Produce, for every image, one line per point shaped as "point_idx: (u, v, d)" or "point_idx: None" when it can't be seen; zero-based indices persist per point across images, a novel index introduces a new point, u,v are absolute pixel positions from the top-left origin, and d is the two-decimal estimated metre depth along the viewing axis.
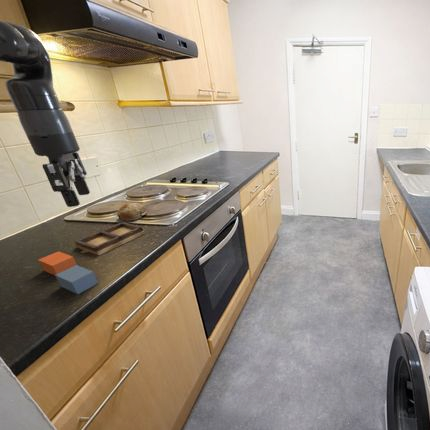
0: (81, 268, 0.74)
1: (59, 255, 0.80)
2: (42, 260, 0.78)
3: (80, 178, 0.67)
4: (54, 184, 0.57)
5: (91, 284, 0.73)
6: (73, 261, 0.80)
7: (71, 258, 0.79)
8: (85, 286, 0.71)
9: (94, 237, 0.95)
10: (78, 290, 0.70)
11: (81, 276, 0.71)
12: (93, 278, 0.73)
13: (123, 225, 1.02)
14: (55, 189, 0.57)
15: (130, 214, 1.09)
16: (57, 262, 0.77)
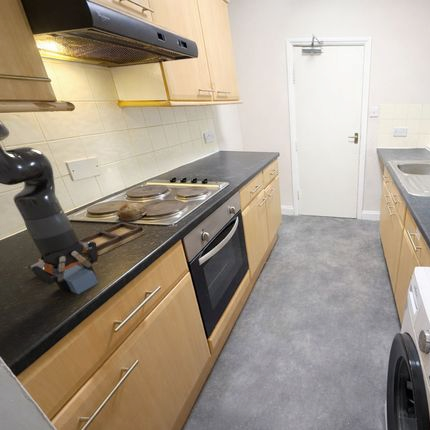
0: (81, 268, 0.74)
1: None
2: None
3: (85, 266, 0.74)
4: None
5: (91, 284, 0.73)
6: None
7: None
8: (85, 286, 0.71)
9: (94, 237, 0.95)
10: (78, 290, 0.70)
11: (81, 276, 0.71)
12: (93, 278, 0.73)
13: (123, 225, 1.02)
14: (44, 281, 0.67)
15: (130, 214, 1.09)
16: None
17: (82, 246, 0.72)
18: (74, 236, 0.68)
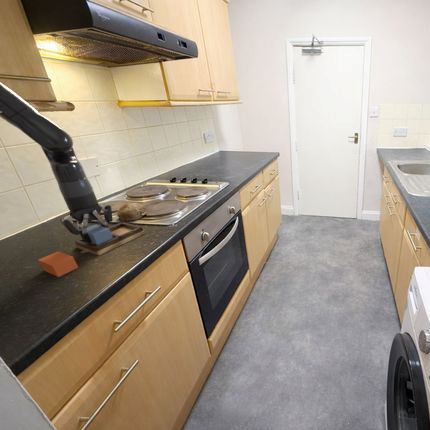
0: (99, 226, 0.92)
1: (59, 255, 0.80)
2: (42, 260, 0.78)
3: (102, 224, 0.92)
4: None
5: (108, 239, 0.91)
6: (73, 261, 0.80)
7: (71, 258, 0.79)
8: (103, 239, 0.90)
9: None
10: (98, 242, 0.88)
11: (100, 231, 0.89)
12: (109, 234, 0.91)
13: (123, 225, 1.02)
14: None
15: (130, 214, 1.09)
16: (57, 262, 0.77)
17: (100, 208, 0.90)
18: (95, 198, 0.87)
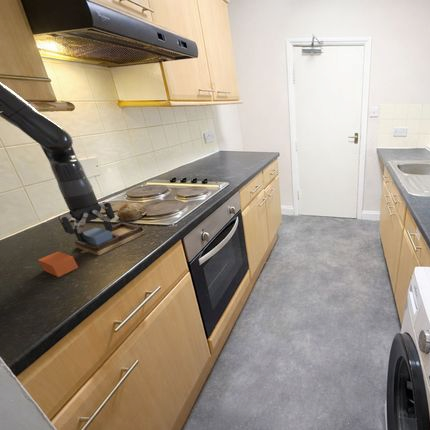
0: (100, 229, 0.92)
1: (59, 255, 0.80)
2: (42, 260, 0.78)
3: (105, 221, 0.92)
4: (66, 228, 0.84)
5: None
6: (73, 261, 0.80)
7: (71, 258, 0.79)
8: None
9: None
10: None
11: (101, 234, 0.89)
12: (110, 237, 0.92)
13: (123, 225, 1.02)
14: (66, 232, 0.84)
15: (130, 214, 1.09)
16: (57, 262, 0.77)
17: (100, 206, 0.90)
18: (94, 197, 0.87)
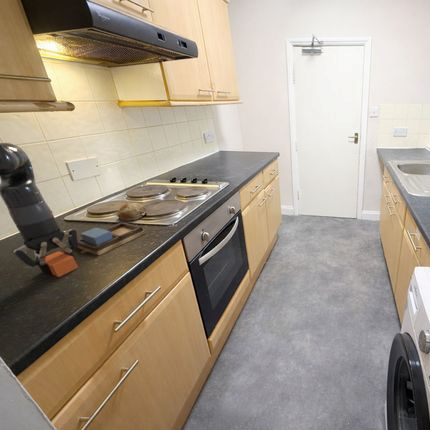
0: (100, 229, 0.92)
1: (59, 255, 0.80)
2: None
3: (66, 252, 0.80)
4: None
5: None
6: (73, 261, 0.80)
7: (71, 258, 0.79)
8: None
9: None
10: None
11: (101, 234, 0.89)
12: (110, 237, 0.92)
13: (123, 225, 1.02)
14: (27, 264, 0.74)
15: (130, 214, 1.09)
16: (57, 262, 0.77)
17: (63, 233, 0.79)
18: (55, 224, 0.75)
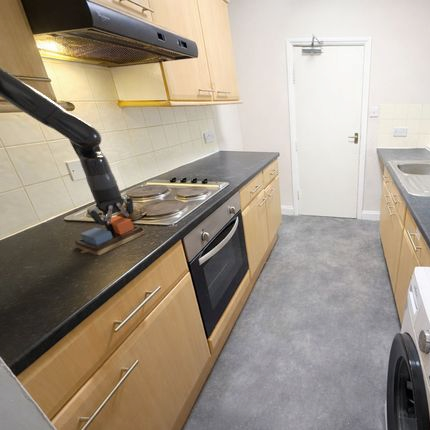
0: (100, 229, 0.92)
1: (119, 218, 0.98)
2: None
3: (124, 216, 0.98)
4: None
5: None
6: (131, 223, 0.97)
7: (130, 220, 0.97)
8: None
9: None
10: None
11: (101, 234, 0.89)
12: (110, 237, 0.92)
13: None
14: (97, 223, 0.91)
15: (130, 214, 1.09)
16: (120, 223, 0.94)
17: (123, 200, 0.96)
18: (119, 191, 0.93)
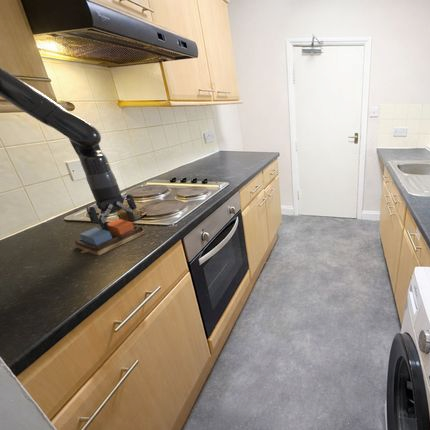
0: (99, 229, 0.92)
1: (120, 221, 0.98)
2: (108, 224, 0.96)
3: (128, 211, 0.99)
4: (92, 218, 0.90)
5: None
6: (132, 226, 0.98)
7: (130, 223, 0.97)
8: (103, 242, 0.90)
9: None
10: None
11: (100, 234, 0.89)
12: (110, 237, 0.91)
13: None
14: (91, 221, 0.90)
15: None
16: (121, 225, 0.95)
17: (123, 198, 0.96)
18: (118, 190, 0.93)
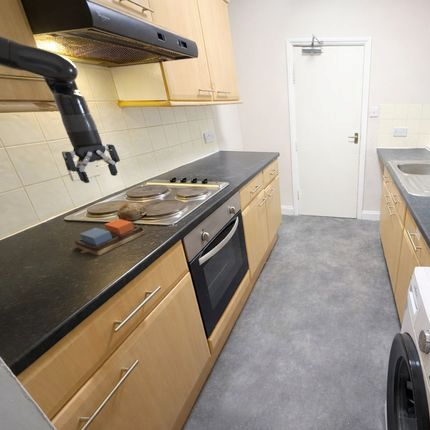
0: (100, 229, 0.92)
1: (120, 221, 0.98)
2: (108, 224, 0.96)
3: (110, 163, 0.91)
4: (69, 165, 0.82)
5: None
6: (132, 226, 0.98)
7: (130, 223, 0.97)
8: (103, 242, 0.90)
9: None
10: None
11: (100, 234, 0.89)
12: (110, 237, 0.91)
13: None
14: (68, 169, 0.82)
15: (130, 214, 1.09)
16: (121, 225, 0.95)
17: (104, 148, 0.88)
18: (99, 136, 0.85)
